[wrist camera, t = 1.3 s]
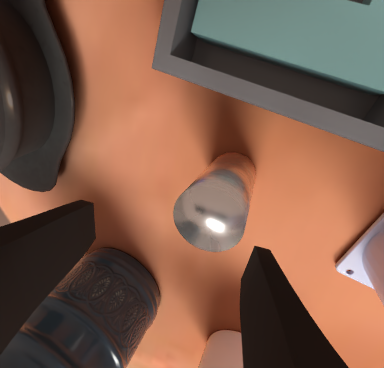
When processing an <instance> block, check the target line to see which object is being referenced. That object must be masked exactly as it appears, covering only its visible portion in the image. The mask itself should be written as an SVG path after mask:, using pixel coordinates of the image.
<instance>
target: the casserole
mask: <svg viewBox="0 0 384 368" xmlns="http://www.w3.org/2000/svg"><path fill="white" fill-rule="evenodd" d="M74 114H75V100H74V92H73V84H72V78H71V74H70V70H69V67H68V63H67V59H66V56H65V53H64V50H63V48H62V45H61V43H60V40H59V38H58V35H57V33H56V30H55V28H54V25H53V23H52V20H51V18H50V15H49V13H48V10H47V8H46V4H45V0H0V173H2V174H3V175H4V176H5V177H7V178H8V179H9V180H11V181H13V182H15V183H16V184H18V185H20V186H22V187H24V188H27V189H30V190H33V191H39V192H45V191H50V190H51V189H52V188H53V187H54V186H55V185H56V181H57V176H58V172H59V167H60V162H61V160H62V158H63V155H64V153H65V151H66V149H67V146H68V144H69V142H70V140H71V136H72V131H73V126H74Z"/></svg>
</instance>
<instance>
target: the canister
mask: <svg viewBox="0 0 384 368" xmlns="http://www.w3.org/2000/svg"><path fill="white" fill-rule="evenodd" d="M159 305H160V294H159V290H158V287H157V285H156V283H155V281H154V279H153V278H152V276H151V275H150V273H149V272H148V271H147V270H146V269H145V268H144V267H143V266H142V265H141V264H140V263H139V262H138V261H137V260H135V259H134V258H133V257H131V256H129V255H128V254H126V253H124V252H121V251H119V250H116V249H112V248H100V249H97V250H95V251H93V252H92V253H89V254H87V255H86V256H84V257H83V258H82V259H81V260H80V261H79V262H78V263H77V264H76V265H75V266H74V267H73V269H72V270H71V271H70V272H69V273H68V274H67V275H66V276H65V277H64V278H63V280H62V281H61V282H60V283H59V284H58V285H57V286H56V287H55V288H54V290H53V291H52V292H51V293H50V294H49V295H48V296H47V297H46V298H45V299H44V301H43V302H42V303H41V304H40V305H39V306H38V307H37V309H36V310H35V311H34V312H33V313H32V314H31V316H30V317H29V318H28V319H27V321H26V322H25V323H24V325H23V326H22V327H21V329H20V330H19V331H18V332H17V334H16V335H15V336H14V338H13V339H12V340H11V342H10V343H9V344H8V346H7V347H6V348H5V350H4V351H3V352H2V354H1V355H0V368H126V367H127V366H128V364H129V362H130V360H131V358H132V356H133V355H134V353H135V351H136V349H137V347H138V345H139V344H140V342H141V340H142V338H143V336H144V334H145V333H146V331H147V329H148V328H149V327H150V326H151V325H152V323H153V320H154V319H155V317H156V314H157V310H158V307H159Z"/></svg>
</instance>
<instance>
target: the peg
mask: <svg viewBox="0 0 384 368" xmlns="http://www.w3.org/2000/svg"><path fill="white" fill-rule="evenodd" d="M255 180H256V170H255V167H254V165H253V163H252V161H251V160H250V159H249V158H248V157H246V156H245V155H243V154H240V153H237V152H228V153H224V154H222V155H220V156H219V157H217V158H216V159H215V160H214V161H213V162H212V163H211V164H210V165H209V166H208V168H207V169H206V170H205V171H204V172H203V173H202V174H201V175H200V176H199V177H198V178H197V179H196V180H195V181H194V182H193V183H192V184H191V185H190V186H189V187H188V188H187V189H186V190H185V191H184V192H183V193H182V194H181V195H180V197H179V198H178V199H177V201H176V203H175V206H174V211H173V216H174V222H175V225H176V227H177V229H178V231H179V232H180V234H181V235H182V236H183V237H184V238H185V239H186V240H187V241H188V242H189V243H190V244H192V245H194V246H195V247H197V248H199V249H202V250H205V251H211V252H221V251H225V250H228V249H230V248H232V247H234V246H235V245H236V244H237V243H238V242H239V241H240V240H241V238H242V236H243V234H244V230H245V225H246V221H247V216H248V212H249V207H250V202H251V198H252V193H253V189H254V184H255Z"/></svg>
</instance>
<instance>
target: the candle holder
mask: <svg viewBox="0 0 384 368" xmlns="http://www.w3.org/2000/svg"><path fill="white" fill-rule="evenodd" d="M198 368H243V355H242V338H241V333H240V332H237V331H232V330H220V331H216V332H214V333H213V334H212V335H211V336H210V337H209V339H208V341H207V343H206V346H205V349H204V352H203V355H202V358H201V361H200V364H199V366H198Z"/></svg>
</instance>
